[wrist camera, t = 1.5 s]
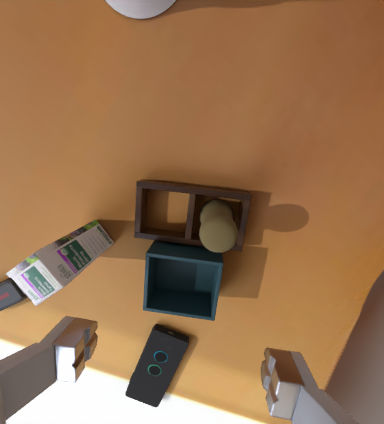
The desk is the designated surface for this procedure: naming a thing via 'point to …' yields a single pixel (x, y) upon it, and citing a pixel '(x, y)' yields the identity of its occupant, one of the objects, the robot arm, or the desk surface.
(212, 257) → the bin
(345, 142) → the desk surface
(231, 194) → the holder
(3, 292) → the usb drive
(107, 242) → the syrup box
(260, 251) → the desk surface
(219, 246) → the olive pepper mill
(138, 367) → the smart home device
